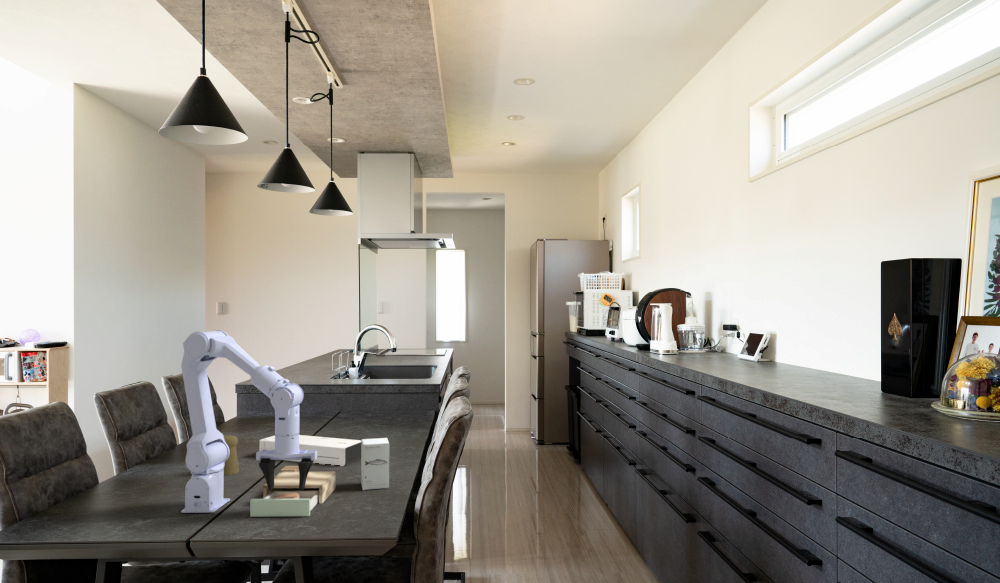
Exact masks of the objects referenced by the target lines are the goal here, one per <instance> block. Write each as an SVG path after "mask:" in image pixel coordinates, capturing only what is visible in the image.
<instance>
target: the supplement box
mask: <svg viewBox="0 0 1000 583" xmlns="http://www.w3.org/2000/svg"><path fill="white" fill-rule="evenodd" d="M388 439H389V438H388V437H380V438H379V437H378V438H362V439H361V459H360V461H361V462H360V463H361V464H360V466H361V468H360V472H361V473H360V483H361V488H362V491H366V490H377V489H378V490H379V489H389V488H390V442H389V440H388Z"/></svg>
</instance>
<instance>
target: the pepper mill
mask: <svg viewBox="0 0 1000 583" xmlns="http://www.w3.org/2000/svg"><path fill="white" fill-rule="evenodd" d="M223 436H224V440H225V442H226V444H227V445H228V447H229V450H230V454H229V457H228V459H227V460H226V461H225V466H224V475H226V476H232V474H233V475H236V473H237V474H239V473H240V467H239V460H238V452H237V451H238V450H237V446H238V444H239V440H238V437H237V436H235V435H223ZM238 472H239V473H238Z"/></svg>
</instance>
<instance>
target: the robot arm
mask: <svg viewBox="0 0 1000 583" xmlns="http://www.w3.org/2000/svg"><path fill="white" fill-rule="evenodd" d="M182 345H183V351H184V352H183V356H182V359H181V365H180V366H181V367H180V368H181V372H182V379H183V385H184V390H185V396H186V397H185V398H186V403H187V408H188V414H189V420H190V421H189V422H190V427H191V433H192V434H191V437H190V439H189V440H188V442H187V443H186V456H185V465H186V467H187V469H188V470H189V471H190V474H191V477H190V479H189V480H188V481H187V482H186V485H185V486H184V487H185V488H184V493H185V494H184V508H182V510H181V511H180V512H181V513H182V514H183V513H184V514H185V513H187V514H188V513H189V514H191V513H192V514H193V513H195V514H196V513H202V514H203V513H206V514H207V513H215V512H216V511H217V510H219V509H220V508H221V507H223V506H224V505H225V504H227V503H228V502H229V501H230V500H231V498H229V497H228V498H226V497H224V491H225V490H224V486H225V485H224V483H225V482H224V481H225V480H224V466H225V461H226V460H227V459H228V457H229V454H230V450H229V447H228V445H227V444H226V442H225V440H224V436H225V435H224V434H223V433H222V432H221V431H220V430H218V428H217V424H216V419H215V412H214V407H213V400H212V395H211V388H210V384H209V379H208V371H207V369H208V368H209V366H210V365H211V364H212V363H213V362H214V360H216V359H217V358H222V359H223V358H224V359H226V360H228V361H229V362H230V363H232V364H233V365H234V366H236V367H237V368H239V369H240V370H242V371H243V372H244V373H246V374H247V375H248V376H249V377H250V383H251V384H252V385H253V386H254V387H255V388H257V389H258V390H259V391H260V392H261V393H263V394H264V395H266V397H268V398H269V399H270V400H269V401H270V405H271V406H272V408H274V415H275V416H274V418H275V419H274V420H275V421H274V435H275V450H266V451H259V450H258V451H257V452H255V453H256V454H255V460H256V461H259V463H258V468H260V470H261V472H262V474H263V476H264V479H265V482H266V483H267V486H268V490H272V489H273V488H274V477H275V469H276V468H275V466H276V461H287V460H302V461H300V462H297V466H298V467H299V489H298V491H304V490H305V489H304V488H305V483H306V479H307V475H308V472H310V470H311V467H312V465H313V464H314V463H313V461H314V460H316V459H317V451H310V450H300V449H299V435H300V418H301V417H300V410H301V409H300V404H302V403H303V400H304V397H305V394H304V390H303V388H302V387H301V386H300V385H299V384H298V383H295V382H292V383H290V380H289V379H288V378H285V377H283V376H282V375H280V374H279V373H278V372H277V371H276V367H274V366H272V365H271V366H269V365H268V364H265V365H260V364H259V363H258V362H257V361H256V360H255V359H254V358H253V356H251V355H250V354H249V353H247V351H245V350H244V349H243V348H242V347H241V346H240V344H237V342H236V341H235V339H234V337H233V336H231V335H229V334H228V333H227V332H226V331H224V330H222V329H214V330H207V331H194V332H192V333H190V334H189V336H187V337H186V339H185V340H184V341H183V343H182Z"/></svg>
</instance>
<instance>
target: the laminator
mask: <svg viewBox="0 0 1000 583" xmlns="http://www.w3.org/2000/svg"><path fill="white" fill-rule="evenodd" d="M361 440H362V439H361ZM361 440H359V439H351V438H350V439H349V438H338V437H337V438H336V437H327V436H314V435H307V434H306V435H305V434H303V435H302V434H299V449H300V450H310V451H317V459H316V460H314V461H313V463H312V464H315V463H319V464H318V465H325V464H331V465H330V466H334V465H340V466H339V467H346V466H348V465H350V463H351V464H353V463H355V462H357V461H359V460H360V461H361ZM266 450H275V434H274V435H271V436H268V437H265V438H264V437H263V438H260V439H259V440H258V451H266ZM286 461H287V462H297V463H299V462H300V461H302V460H286ZM352 462H353V463H352ZM345 465H346V466H345Z"/></svg>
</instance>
